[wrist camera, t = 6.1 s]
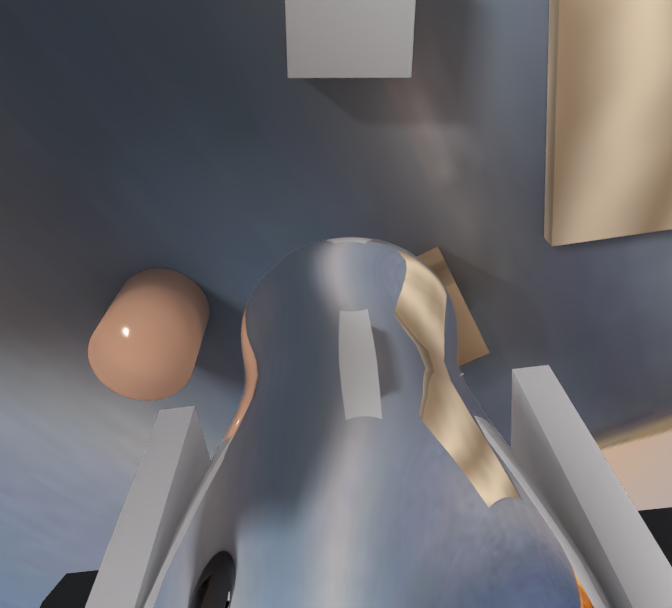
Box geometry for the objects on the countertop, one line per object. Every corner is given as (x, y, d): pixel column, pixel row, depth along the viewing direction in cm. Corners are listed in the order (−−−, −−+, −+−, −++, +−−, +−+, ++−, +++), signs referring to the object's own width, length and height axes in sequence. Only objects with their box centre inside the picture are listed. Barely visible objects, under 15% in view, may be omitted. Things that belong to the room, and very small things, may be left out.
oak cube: (397, 342, 35) (408, 389, 31) (362, 282, 33) (369, 323, 29) (469, 309, 34) (489, 353, 30) (437, 245, 32) (455, 282, 28)
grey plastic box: (290, 66, 28) (287, 77, 24) (286, -61, 25) (282, -68, 22) (398, 65, 28) (411, 77, 24) (404, -60, 26) (419, -68, 22)
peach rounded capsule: (133, 352, 35) (107, 406, 30) (105, 275, 32) (72, 321, 28) (218, 340, 34) (205, 393, 30) (196, 261, 32) (178, 306, 28)
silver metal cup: (329, 464, 19) (344, 1494, 6) (174, 318, 17) (-386, 1561, 4) (516, 349, 18) (1124, 1485, 4) (373, 163, 15) (791, 1613, 2)
